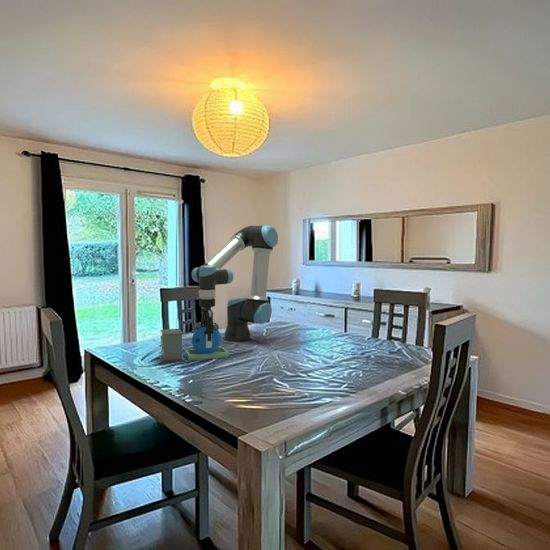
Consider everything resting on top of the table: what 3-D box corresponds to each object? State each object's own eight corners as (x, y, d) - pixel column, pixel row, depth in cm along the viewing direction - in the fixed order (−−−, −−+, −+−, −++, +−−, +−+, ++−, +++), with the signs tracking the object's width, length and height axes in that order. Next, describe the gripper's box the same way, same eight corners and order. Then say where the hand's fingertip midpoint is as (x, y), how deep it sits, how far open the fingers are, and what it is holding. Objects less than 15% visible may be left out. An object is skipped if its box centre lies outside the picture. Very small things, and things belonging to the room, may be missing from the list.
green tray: (223, 351, 205) (223, 347, 205) (229, 357, 194) (229, 352, 194) (184, 354, 198) (184, 349, 198) (188, 360, 188) (188, 355, 187)
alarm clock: (221, 351, 199) (221, 321, 198) (219, 355, 193) (219, 323, 192) (194, 351, 199) (194, 320, 198) (191, 354, 193) (191, 323, 192)
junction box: (180, 354, 197) (180, 328, 197) (184, 361, 186) (184, 333, 185) (159, 356, 194) (159, 329, 193) (161, 363, 183) (161, 334, 182)
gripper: (195, 295, 202) (195, 341, 204) (203, 301, 183) (203, 351, 185) (210, 295, 205) (210, 340, 207) (220, 300, 186) (219, 350, 188)
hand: (206, 345), depth 196 cm, fingers closed on alarm clock, 8 cm apart
